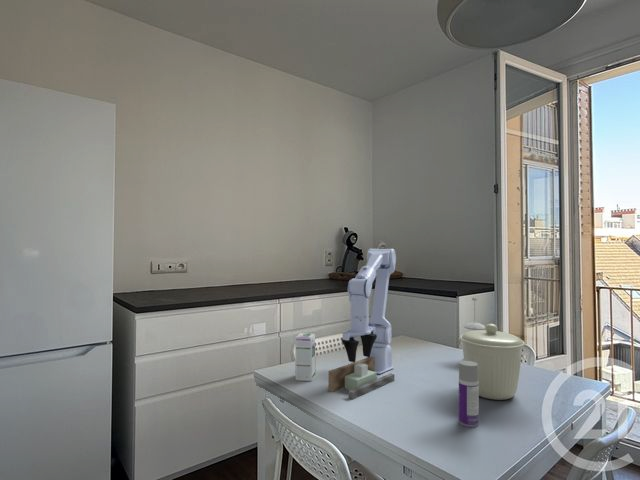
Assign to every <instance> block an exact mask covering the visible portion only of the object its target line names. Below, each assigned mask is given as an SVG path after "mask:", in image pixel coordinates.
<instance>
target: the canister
mask: <svg viewBox="0 0 640 480" xmlns="http://www.w3.org/2000/svg"><path fill="white" fill-rule="evenodd" d="M484 326H485V329H483V330H469V331H466V332H464V333H463V334H461V335H460V336H459V340H461V343H462V344H461V345H462V346H461V347H462V354H463V355H462V356H463V359H464V361H472V362H476V363H477V364H478V381H479V397H481V398H485V399H489V400H496V401H497V400H499V401H500V400H501V401H502V400H508V399H512V398H513V397H514V396H515V395H516V393H517V392H518V391H517V389H518V385H519V381H520V380H519V378H520V371H521V370H520V369H521V364H522V362H521V361H522V355H523V347H525V345H526V342H525V341H524V340H522V339H521V338H520V337H518V336H516V335H515V334H512V333H508V332H503V331H499V330H498V326H497V325H496V324H494V323H487V324H486V325H484Z"/></svg>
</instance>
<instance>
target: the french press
mask: <svg viewBox="0 0 640 480" xmlns="http://www.w3.org/2000/svg"><path fill="white" fill-rule="evenodd" d="M471 298H472V299H471V300H472V301H474V302H473V303H474V304H473V305H474V307H473V309H474V320H473V322H466V323H465V324H464V325H463V328H465V329H467V330H471V331H474V330H485V326H486V325H484V324H482V323H480V322H476V301H478V298H477V297H475V296H474V297H471ZM461 361H464V358H462V359H461Z"/></svg>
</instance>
